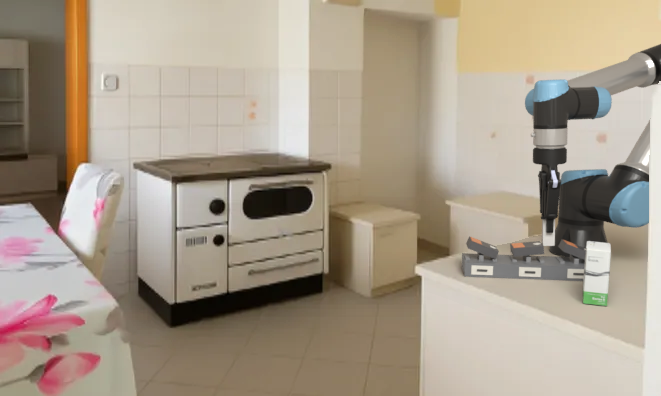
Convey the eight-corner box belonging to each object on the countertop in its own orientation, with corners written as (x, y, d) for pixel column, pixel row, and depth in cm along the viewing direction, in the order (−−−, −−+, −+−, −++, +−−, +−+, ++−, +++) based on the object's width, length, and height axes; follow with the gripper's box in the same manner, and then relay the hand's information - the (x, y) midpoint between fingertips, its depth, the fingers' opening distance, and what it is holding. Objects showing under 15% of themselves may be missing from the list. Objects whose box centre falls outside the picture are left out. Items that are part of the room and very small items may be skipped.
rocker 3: (585, 257, 152) (589, 249, 152) (591, 262, 148) (595, 254, 147) (558, 246, 153) (561, 238, 152) (563, 251, 148) (566, 243, 148)
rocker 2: (540, 248, 154) (539, 240, 153) (544, 254, 149) (543, 245, 148) (510, 251, 155) (509, 243, 154) (513, 256, 150) (513, 248, 149)
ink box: (607, 307, 129) (612, 251, 127) (581, 304, 130) (585, 248, 129) (606, 295, 136) (611, 241, 135) (582, 292, 138) (586, 239, 136)
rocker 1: (492, 253, 155) (496, 246, 155) (495, 259, 150) (499, 251, 150) (466, 243, 156) (469, 235, 155) (467, 248, 151) (471, 240, 150)
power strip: (585, 270, 155) (586, 252, 154) (596, 281, 146) (597, 262, 145) (461, 266, 159) (462, 248, 158) (464, 276, 150) (465, 257, 149)
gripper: (527, 145, 154) (526, 239, 157) (538, 149, 141) (537, 251, 145) (559, 144, 153) (558, 239, 156) (573, 148, 140) (571, 251, 144)
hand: (548, 245), depth 151 cm, fingers closed
